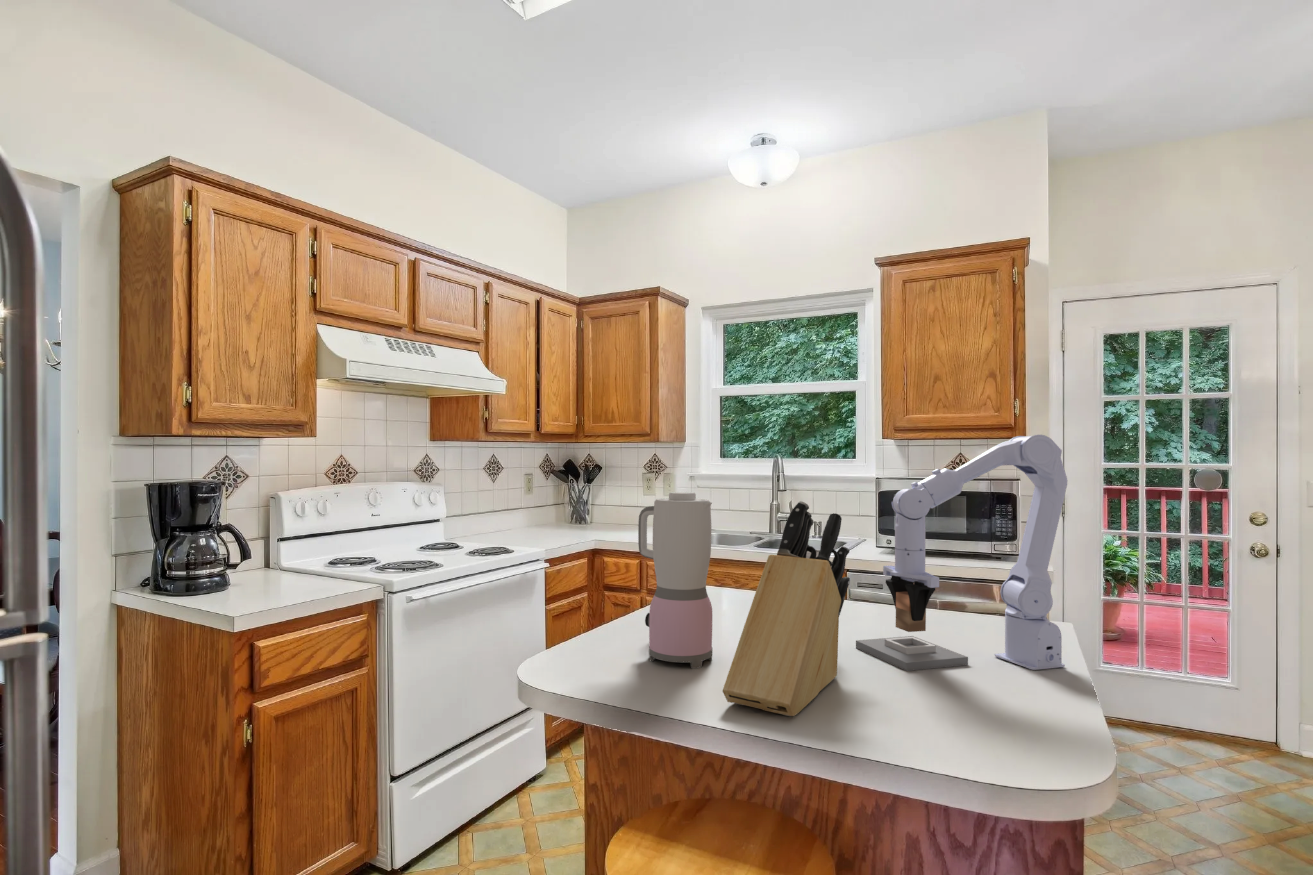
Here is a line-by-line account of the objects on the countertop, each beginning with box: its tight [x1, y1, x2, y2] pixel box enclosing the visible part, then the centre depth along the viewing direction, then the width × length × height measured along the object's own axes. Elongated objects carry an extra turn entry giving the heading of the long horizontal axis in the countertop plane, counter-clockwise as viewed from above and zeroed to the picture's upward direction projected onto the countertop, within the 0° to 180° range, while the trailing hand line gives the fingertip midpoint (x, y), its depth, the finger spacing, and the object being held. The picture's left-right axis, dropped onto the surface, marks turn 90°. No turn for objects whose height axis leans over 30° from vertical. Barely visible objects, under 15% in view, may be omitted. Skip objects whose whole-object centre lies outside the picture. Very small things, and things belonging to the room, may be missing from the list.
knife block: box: [722, 500, 851, 717], centre depth 119 cm, size 11×35×31 cm, turn 149°
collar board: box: [855, 635, 969, 672], centre depth 137 cm, size 16×14×3 cm
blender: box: [637, 491, 713, 669], centre depth 134 cm, size 16×12×32 cm
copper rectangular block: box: [895, 592, 927, 633], centre depth 137 cm, size 4×4×7 cm
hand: (909, 617), depth 137 cm, fingers closed on copper rectangular block, 4 cm apart
